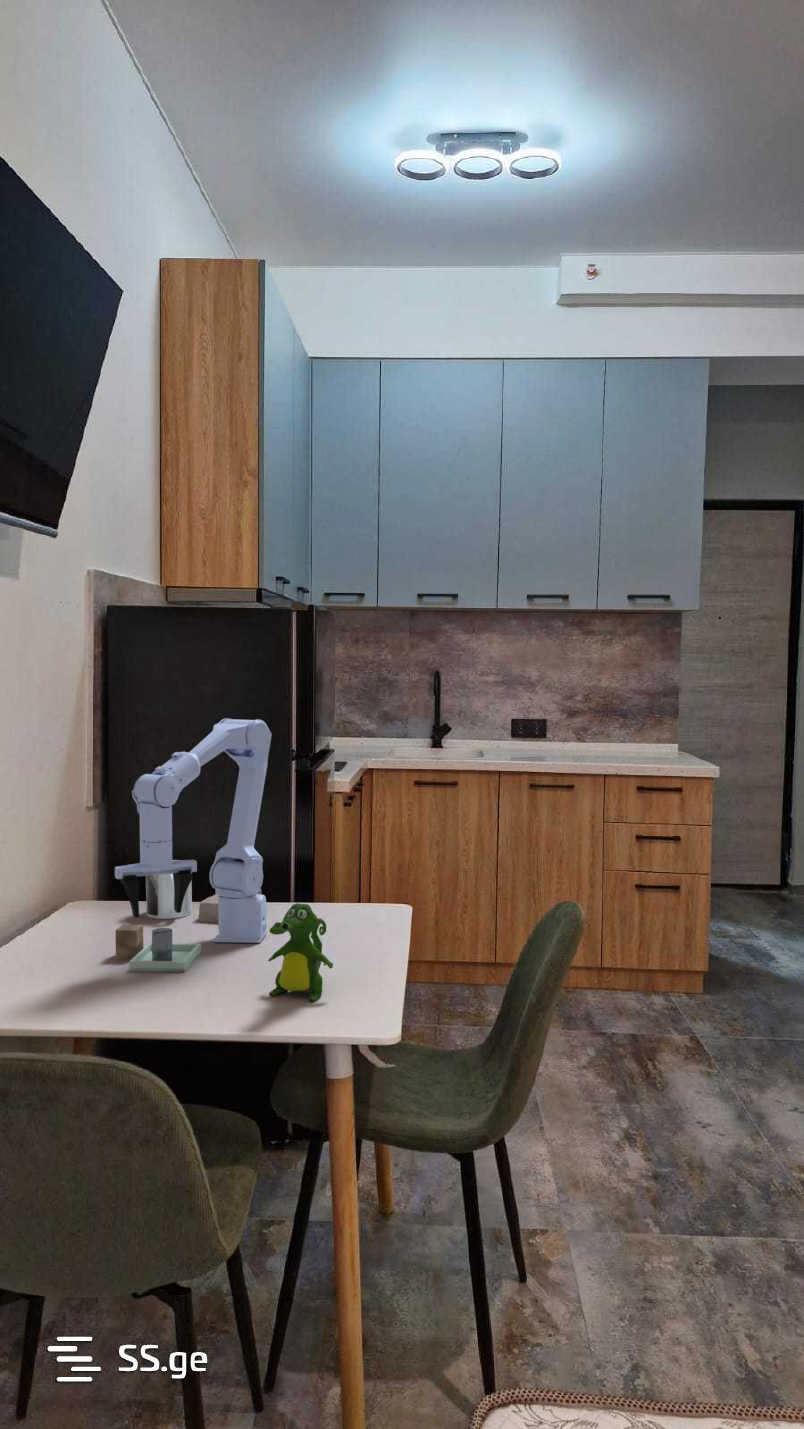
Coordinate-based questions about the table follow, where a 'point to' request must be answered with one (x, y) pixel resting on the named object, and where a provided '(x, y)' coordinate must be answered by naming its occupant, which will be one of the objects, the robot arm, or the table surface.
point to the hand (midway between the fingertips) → (156, 913)
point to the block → (128, 941)
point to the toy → (300, 952)
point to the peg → (162, 944)
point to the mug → (165, 897)
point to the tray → (180, 961)
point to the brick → (211, 909)
